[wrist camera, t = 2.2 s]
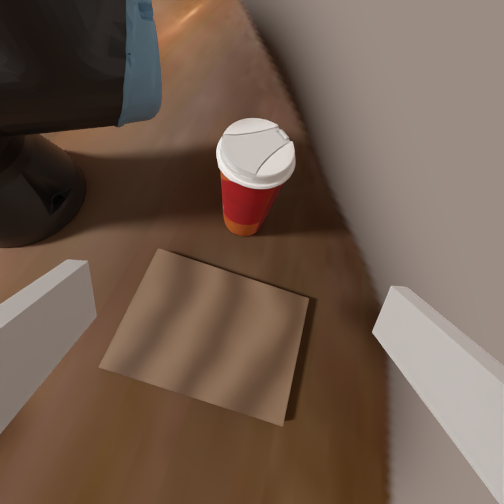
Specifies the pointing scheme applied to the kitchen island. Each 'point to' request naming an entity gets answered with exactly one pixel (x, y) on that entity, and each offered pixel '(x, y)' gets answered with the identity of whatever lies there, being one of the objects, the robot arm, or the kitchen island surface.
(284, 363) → the walnut board
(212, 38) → the kitchen island surface
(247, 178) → the paper cup
